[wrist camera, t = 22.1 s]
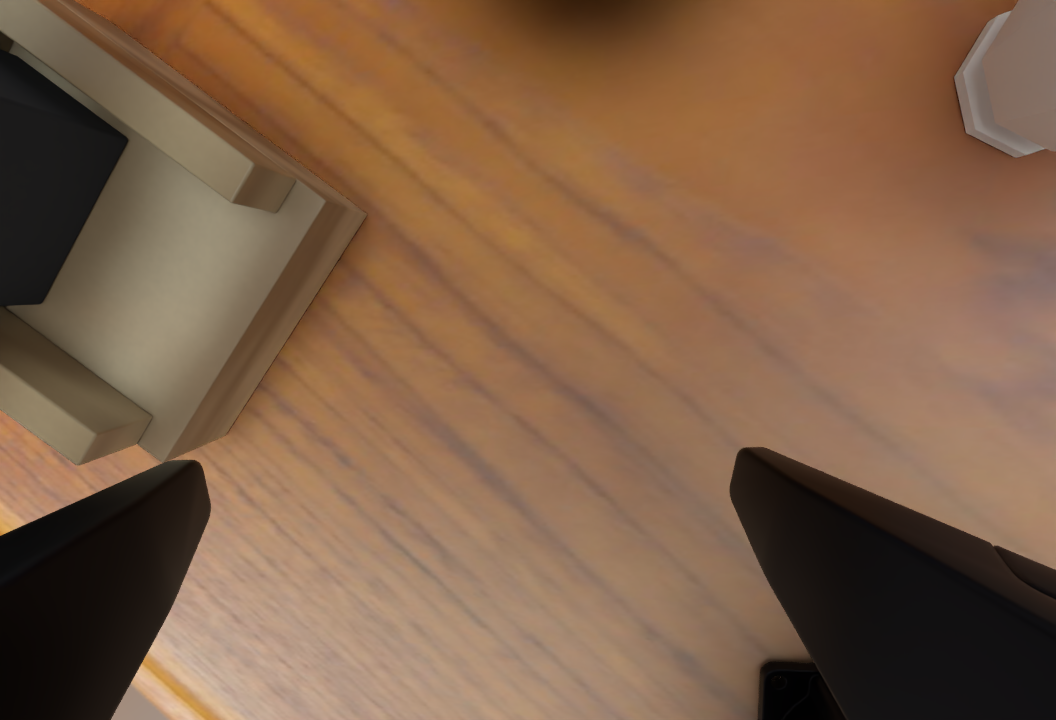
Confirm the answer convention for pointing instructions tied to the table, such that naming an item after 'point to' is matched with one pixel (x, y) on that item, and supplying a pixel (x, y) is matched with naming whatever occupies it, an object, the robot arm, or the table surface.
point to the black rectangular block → (45, 177)
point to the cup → (1012, 80)
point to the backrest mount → (161, 256)
